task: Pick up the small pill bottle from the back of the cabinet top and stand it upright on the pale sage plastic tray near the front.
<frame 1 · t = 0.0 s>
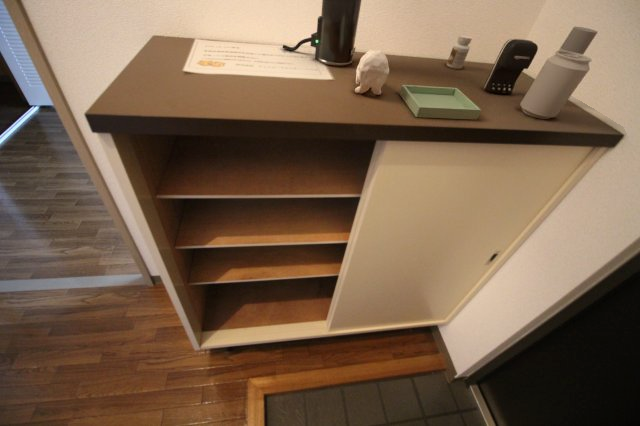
container: (539, 100, 70), on the table
pill bottle: (453, 67, 83), on the table
tray: (435, 106, 61), on the table
can: (535, 113, 64), on the table
white bear figurine: (365, 88, 65), on the table
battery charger: (497, 93, 71), on the table
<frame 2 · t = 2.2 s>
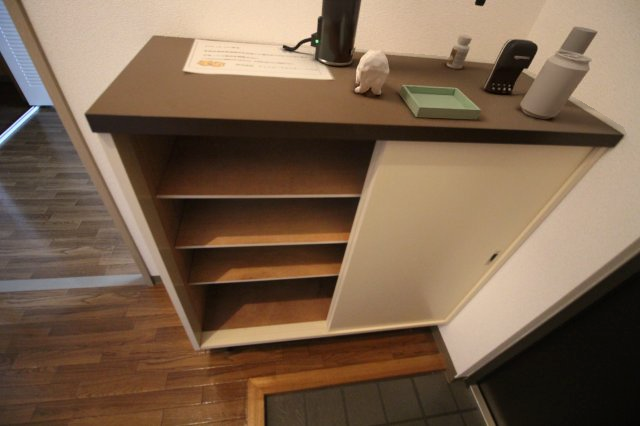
hand: (479, 3, 72), 15 cm above the table, tool pointing down, fingers open, 8 cm apart
nothing on the table moved.
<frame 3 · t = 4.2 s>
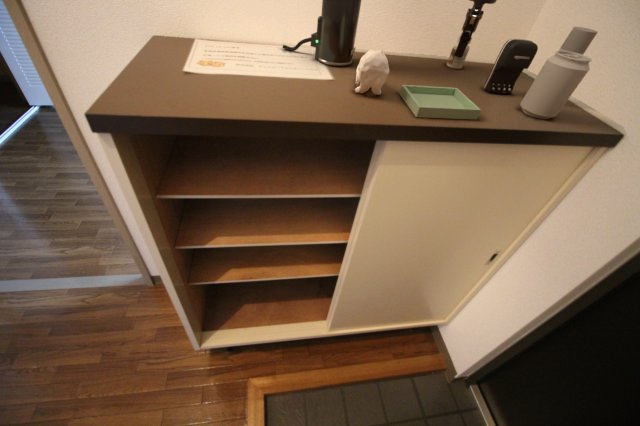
hand: (458, 54, 81), 3 cm above the table, tool pointing down, fingers closed on pill bottle, 4 cm apart
pill bottle: (453, 67, 83), on the table, touching gripper
everything else where it was.
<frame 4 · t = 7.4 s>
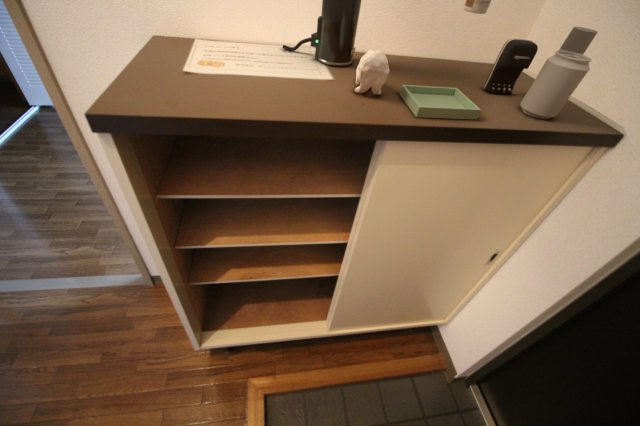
pill bottle: (473, 13, 56), point 16 cm above the table, touching gripper
everything else where it was.
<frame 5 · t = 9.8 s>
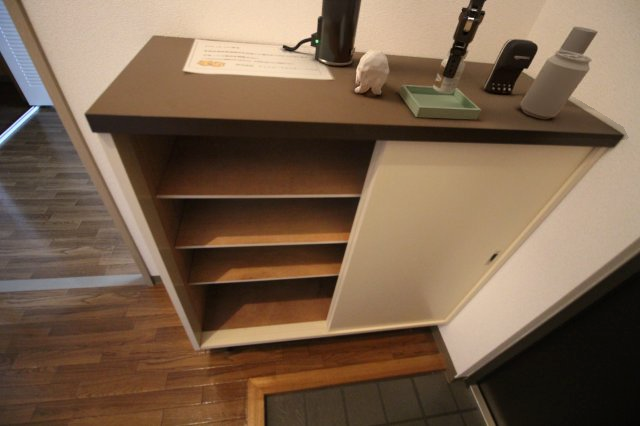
hand: (449, 73, 56), 7 cm above the table, tool pointing down, fingers closed on pill bottle, 4 cm apart
pill bottle: (442, 90, 59), point 3 cm above the table, touching gripper
everything else where it was.
when the fingers open (4 cm above the table, at t = 11.1 s): pill bottle stays where it is, resting on tray.
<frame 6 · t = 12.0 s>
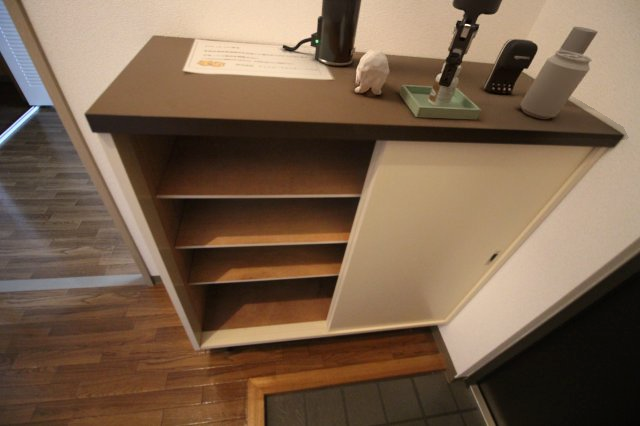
hand: (446, 79, 57), 6 cm above the table, tool pointing down, fingers open, 8 cm apart
pill bottle: (437, 104, 61), resting on tray
everything else where it was.
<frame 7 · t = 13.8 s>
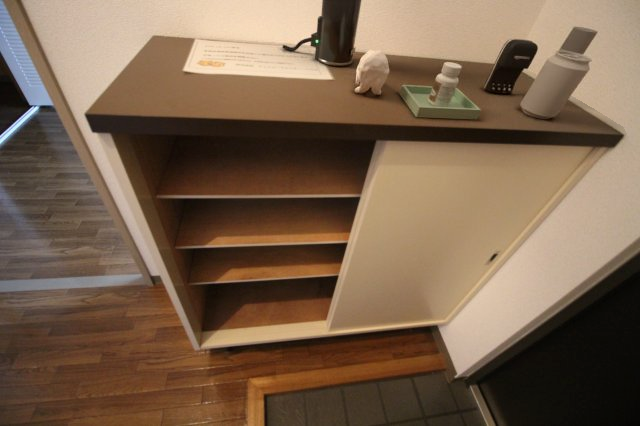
nothing on the table moved.
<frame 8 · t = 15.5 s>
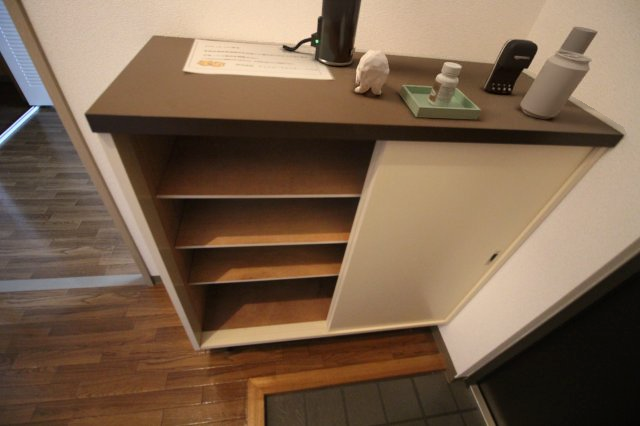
nothing on the table moved.
at the end: pill bottle inside the target area in the tray (0.1 cm from its centre), point 0.4 cm above the tray's base; pill bottle tilted 0°; the gripper is holding nothing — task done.
